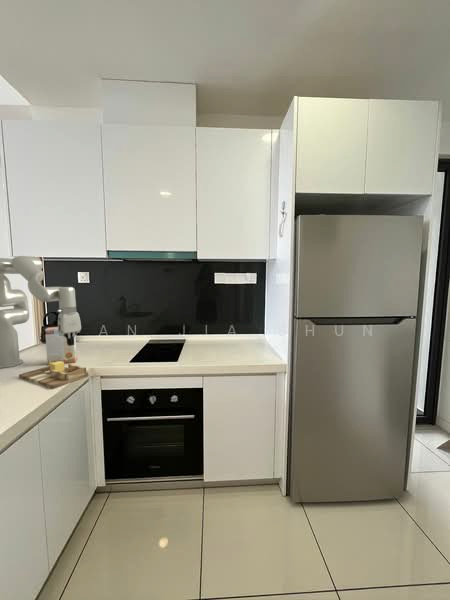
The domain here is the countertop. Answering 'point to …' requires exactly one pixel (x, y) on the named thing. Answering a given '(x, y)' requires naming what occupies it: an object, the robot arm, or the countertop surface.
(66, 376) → the cubby
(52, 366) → the cube
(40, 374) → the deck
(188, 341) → the countertop surface
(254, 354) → the countertop surface
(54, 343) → the cracker box
